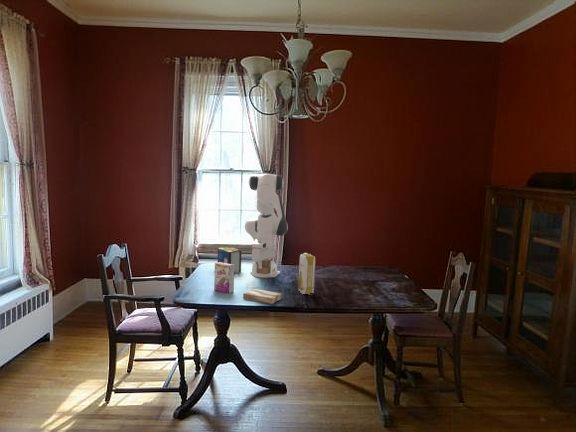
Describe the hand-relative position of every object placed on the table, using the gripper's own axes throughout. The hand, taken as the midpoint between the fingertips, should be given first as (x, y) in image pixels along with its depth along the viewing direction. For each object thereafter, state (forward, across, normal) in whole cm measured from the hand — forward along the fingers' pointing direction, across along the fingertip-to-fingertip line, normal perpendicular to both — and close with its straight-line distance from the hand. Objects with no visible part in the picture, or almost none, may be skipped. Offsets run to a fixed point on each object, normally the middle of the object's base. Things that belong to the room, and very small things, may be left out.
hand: (263, 267), depth 237 cm
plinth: (+18, 0, 0) cm, 18 cm away
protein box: (+18, -44, -52) cm, 70 cm away
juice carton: (+18, -24, +16) cm, 34 cm away
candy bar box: (+18, 0, -26) cm, 32 cm away
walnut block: (+3, 0, 0) cm, 3 cm away
